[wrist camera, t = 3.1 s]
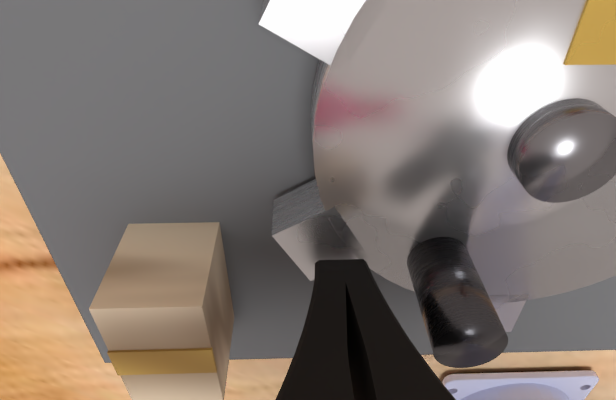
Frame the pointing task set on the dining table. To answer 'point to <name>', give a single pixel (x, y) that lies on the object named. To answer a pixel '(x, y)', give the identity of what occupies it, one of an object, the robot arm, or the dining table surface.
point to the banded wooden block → (168, 311)
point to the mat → (194, 157)
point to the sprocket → (458, 154)
